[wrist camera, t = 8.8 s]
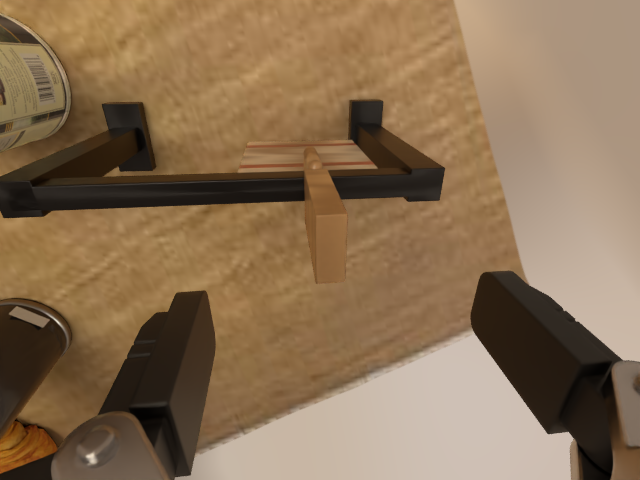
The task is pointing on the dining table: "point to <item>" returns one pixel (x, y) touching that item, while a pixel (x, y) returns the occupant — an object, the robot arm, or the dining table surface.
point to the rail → (205, 189)
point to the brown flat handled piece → (315, 193)
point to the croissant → (24, 446)
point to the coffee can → (29, 86)
